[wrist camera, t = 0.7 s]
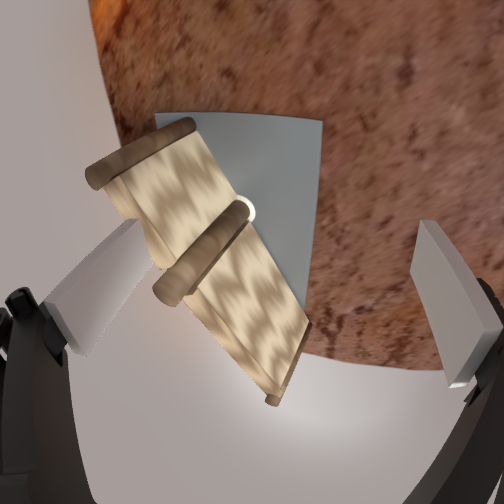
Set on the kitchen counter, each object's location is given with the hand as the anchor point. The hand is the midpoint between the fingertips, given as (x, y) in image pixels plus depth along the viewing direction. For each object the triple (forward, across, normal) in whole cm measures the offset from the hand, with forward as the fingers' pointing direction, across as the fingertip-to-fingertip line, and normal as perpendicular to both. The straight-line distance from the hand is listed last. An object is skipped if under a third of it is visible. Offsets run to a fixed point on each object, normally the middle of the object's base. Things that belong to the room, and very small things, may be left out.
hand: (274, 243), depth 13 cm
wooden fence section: (+24, -10, -3) cm, 26 cm away
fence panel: (+23, -3, -20) cm, 31 cm away
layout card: (+25, -9, -13) cm, 29 cm away
